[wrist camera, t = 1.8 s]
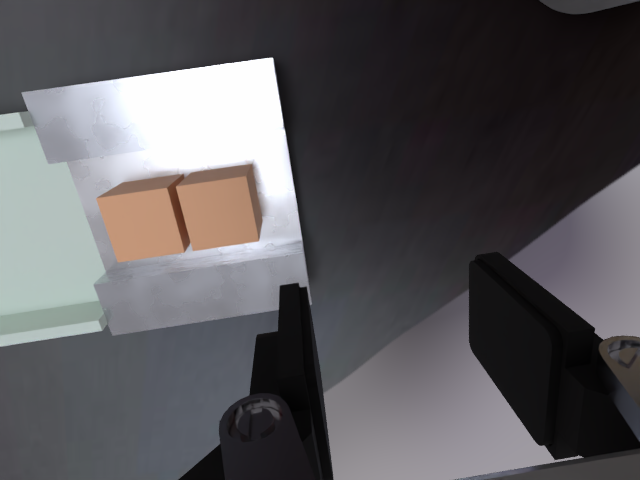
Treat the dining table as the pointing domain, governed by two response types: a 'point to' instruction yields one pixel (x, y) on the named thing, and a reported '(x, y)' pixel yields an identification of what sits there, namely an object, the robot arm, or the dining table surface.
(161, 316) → the slotted block
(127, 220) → the chip
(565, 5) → the coffee mug
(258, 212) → the chip
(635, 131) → the dining table surface
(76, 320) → the tray
